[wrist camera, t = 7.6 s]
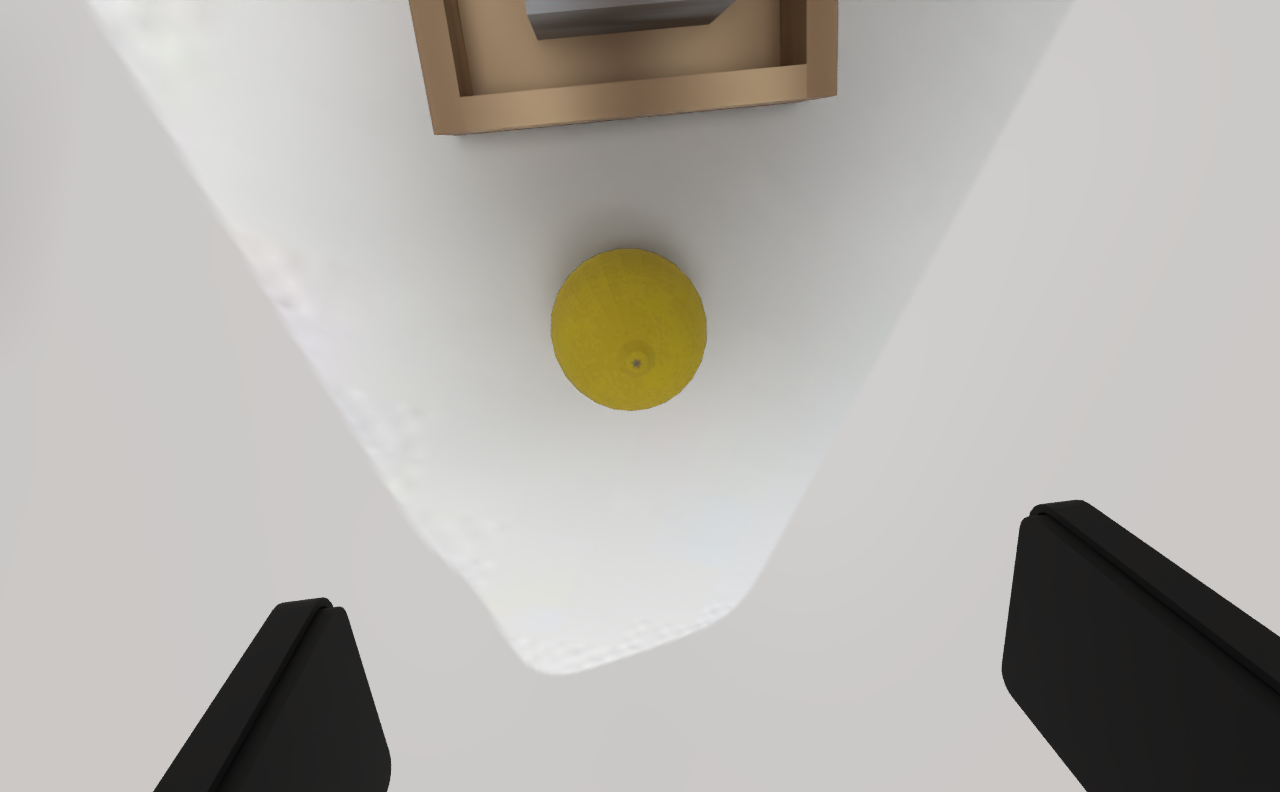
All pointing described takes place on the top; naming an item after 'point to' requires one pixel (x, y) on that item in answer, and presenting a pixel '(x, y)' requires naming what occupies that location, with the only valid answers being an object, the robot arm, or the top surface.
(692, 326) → the lemon
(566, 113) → the caddy
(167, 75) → the top surface
